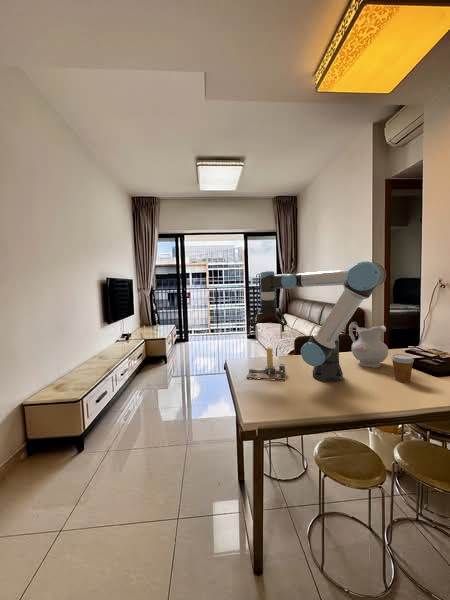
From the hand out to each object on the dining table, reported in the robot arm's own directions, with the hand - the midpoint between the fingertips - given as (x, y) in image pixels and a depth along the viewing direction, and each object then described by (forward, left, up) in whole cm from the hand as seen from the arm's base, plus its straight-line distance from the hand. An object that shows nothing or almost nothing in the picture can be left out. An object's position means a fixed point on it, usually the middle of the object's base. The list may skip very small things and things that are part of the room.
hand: (269, 337), depth 148 cm
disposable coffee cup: (-65, 0, -21) cm, 68 cm away
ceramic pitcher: (-55, -25, -21) cm, 64 cm away
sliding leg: (0, +2, -19) cm, 20 cm away
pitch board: (+2, +3, -21) cm, 21 cm away
